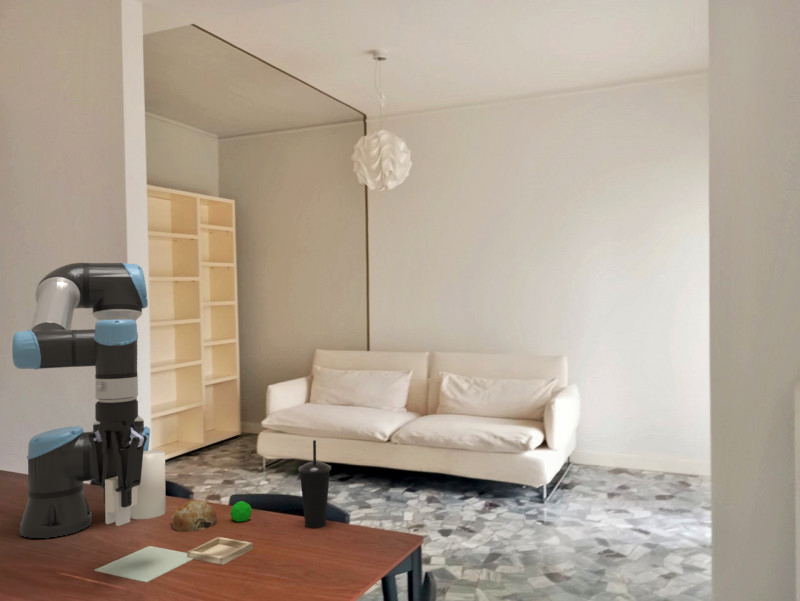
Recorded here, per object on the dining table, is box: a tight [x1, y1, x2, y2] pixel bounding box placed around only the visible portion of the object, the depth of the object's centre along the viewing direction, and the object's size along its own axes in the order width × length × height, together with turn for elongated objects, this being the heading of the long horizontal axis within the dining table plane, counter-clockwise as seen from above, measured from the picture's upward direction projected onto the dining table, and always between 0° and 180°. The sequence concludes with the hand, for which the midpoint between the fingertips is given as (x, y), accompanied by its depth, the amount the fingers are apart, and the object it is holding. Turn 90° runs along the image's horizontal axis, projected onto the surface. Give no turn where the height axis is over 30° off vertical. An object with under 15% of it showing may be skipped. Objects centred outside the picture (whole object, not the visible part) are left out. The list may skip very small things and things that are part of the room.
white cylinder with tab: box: [104, 450, 167, 520], centre depth 127 cm, size 13×7×12 cm, turn 155°
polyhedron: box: [230, 500, 253, 523], centre depth 156 cm, size 5×5×5 cm
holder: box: [186, 536, 254, 566], centre depth 135 cm, size 9×9×2 cm
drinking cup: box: [298, 440, 332, 529], centre depth 153 cm, size 8×8×20 cm
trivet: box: [93, 545, 195, 583], centre depth 130 cm, size 14×14×1 cm
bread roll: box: [170, 499, 217, 532], centre depth 153 cm, size 10×10×8 cm
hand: (117, 522), depth 123 cm, fingers closed on white cylinder with tab, 2 cm apart
